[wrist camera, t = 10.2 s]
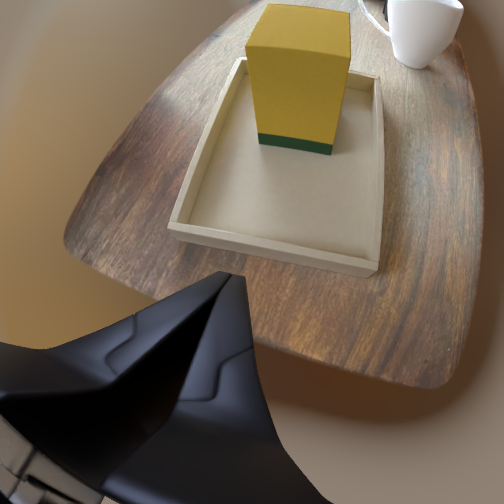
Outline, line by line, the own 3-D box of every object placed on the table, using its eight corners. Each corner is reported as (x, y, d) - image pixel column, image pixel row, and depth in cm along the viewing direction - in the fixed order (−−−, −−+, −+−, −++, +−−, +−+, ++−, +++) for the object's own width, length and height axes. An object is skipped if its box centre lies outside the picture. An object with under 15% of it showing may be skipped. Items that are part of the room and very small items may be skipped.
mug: (434, 56, 26) (456, -5, 15) (441, 88, 24) (472, 18, 13) (353, 29, 28) (361, -38, 17) (348, 56, 26) (358, -24, 15)
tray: (367, 278, 19) (378, 270, 17) (178, 240, 22) (166, 228, 19) (374, 93, 24) (380, 76, 22) (240, 73, 26) (237, 56, 24)
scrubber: (330, 156, 22) (351, 58, 12) (258, 144, 23) (244, 45, 13) (336, 100, 24) (349, 12, 14) (274, 90, 24) (267, 3, 15)
